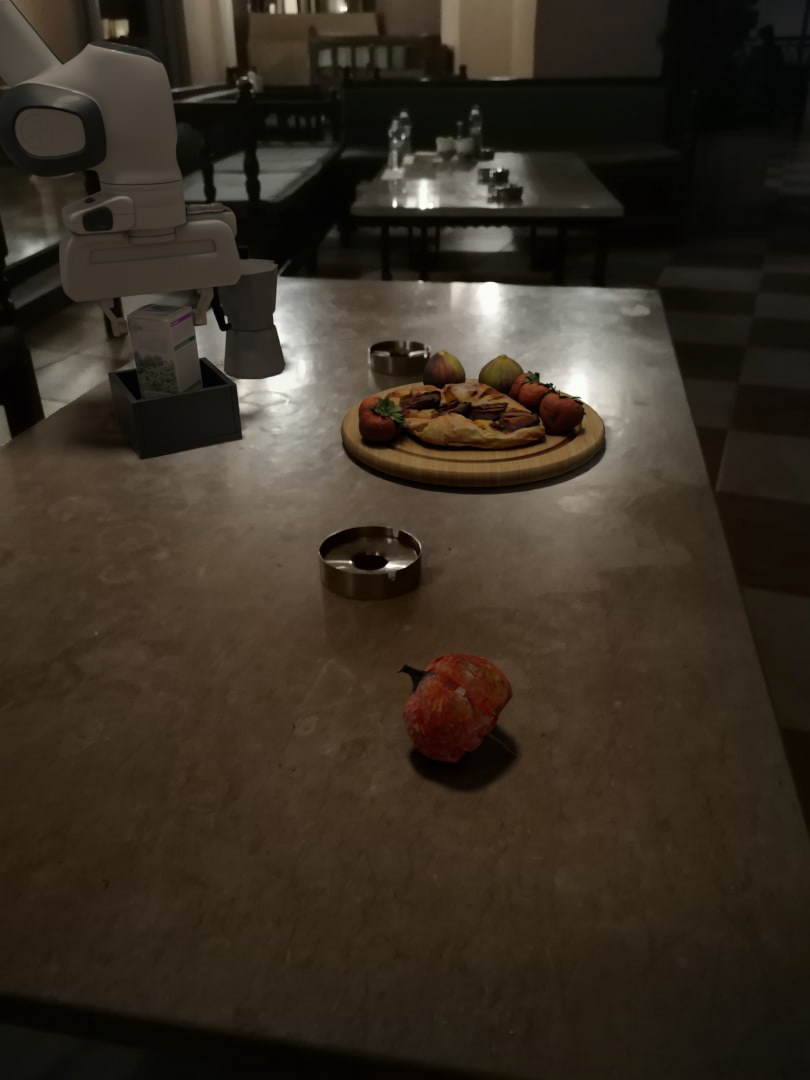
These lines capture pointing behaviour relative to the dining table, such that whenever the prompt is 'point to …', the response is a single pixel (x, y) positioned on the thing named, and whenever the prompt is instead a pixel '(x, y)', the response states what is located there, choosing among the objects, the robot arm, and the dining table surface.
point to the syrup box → (165, 349)
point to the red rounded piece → (454, 705)
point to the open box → (177, 413)
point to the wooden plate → (473, 427)
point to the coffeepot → (250, 320)
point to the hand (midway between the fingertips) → (160, 329)
